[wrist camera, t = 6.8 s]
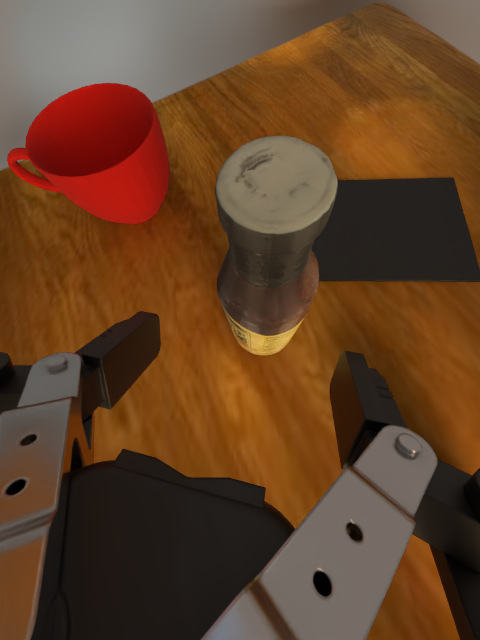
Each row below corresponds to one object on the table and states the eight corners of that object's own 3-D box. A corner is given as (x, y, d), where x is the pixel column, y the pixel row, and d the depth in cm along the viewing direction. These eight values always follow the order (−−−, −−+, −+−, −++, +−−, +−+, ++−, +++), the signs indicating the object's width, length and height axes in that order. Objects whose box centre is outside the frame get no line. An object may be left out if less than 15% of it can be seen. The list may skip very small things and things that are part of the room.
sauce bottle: (231, 305, 28) (176, 111, 9) (287, 299, 28) (346, 87, 9) (236, 364, 26) (178, 264, 7) (297, 358, 26) (397, 238, 7)
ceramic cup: (67, 178, 36) (-1, 99, 27) (183, 161, 36) (155, 73, 26) (56, 256, 32) (-29, 194, 23) (187, 237, 32) (156, 166, 22)
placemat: (451, 180, 31) (453, 177, 31) (479, 281, 27) (482, 280, 27) (288, 184, 33) (288, 181, 33) (290, 280, 29) (290, 279, 28)
